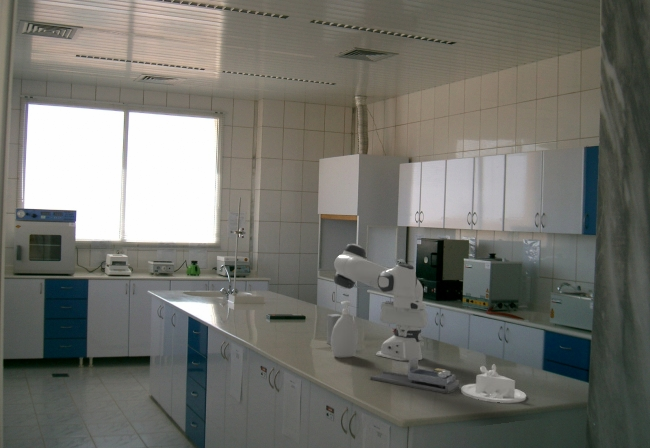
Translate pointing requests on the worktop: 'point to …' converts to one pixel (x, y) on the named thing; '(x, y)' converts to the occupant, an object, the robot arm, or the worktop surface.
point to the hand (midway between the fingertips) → (402, 336)
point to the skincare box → (331, 325)
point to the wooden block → (438, 370)
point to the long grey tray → (426, 375)
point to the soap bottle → (344, 335)
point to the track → (404, 380)
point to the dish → (493, 388)
